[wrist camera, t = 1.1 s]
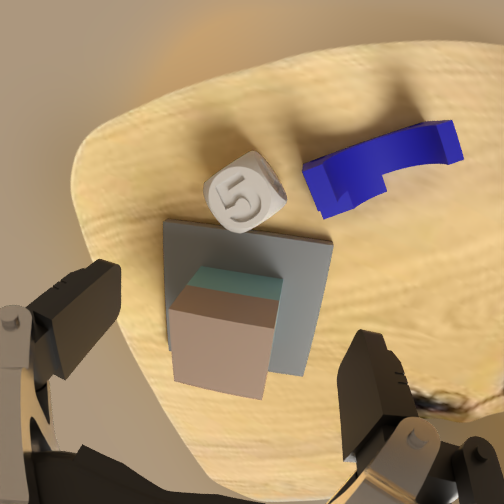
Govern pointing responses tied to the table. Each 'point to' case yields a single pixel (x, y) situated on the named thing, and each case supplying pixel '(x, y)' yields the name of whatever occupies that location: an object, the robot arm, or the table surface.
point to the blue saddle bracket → (377, 164)
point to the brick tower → (240, 304)
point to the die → (244, 193)
